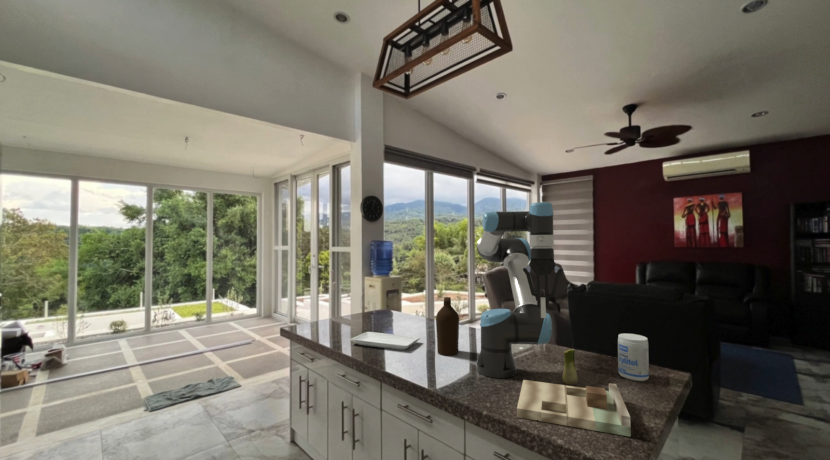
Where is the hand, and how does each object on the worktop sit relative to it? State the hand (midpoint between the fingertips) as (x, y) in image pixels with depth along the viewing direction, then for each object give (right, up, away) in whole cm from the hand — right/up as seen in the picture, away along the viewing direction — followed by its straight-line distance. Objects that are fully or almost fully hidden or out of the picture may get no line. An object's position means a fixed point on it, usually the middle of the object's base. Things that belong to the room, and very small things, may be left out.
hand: (543, 317), depth 117 cm
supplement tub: (+37, -25, +10) cm, 46 cm away
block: (+9, -21, -17) cm, 28 cm away
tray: (-58, -28, +54) cm, 84 cm away
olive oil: (-29, -26, +40) cm, 56 cm away
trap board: (+3, -24, -14) cm, 28 cm away
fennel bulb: (+11, -25, +3) cm, 27 cm away
